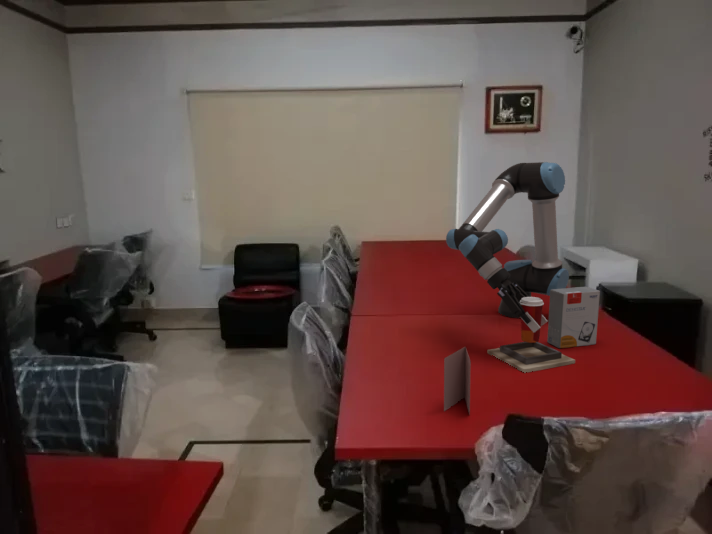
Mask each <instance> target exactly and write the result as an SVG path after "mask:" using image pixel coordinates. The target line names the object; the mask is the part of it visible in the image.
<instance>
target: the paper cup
mask: <svg viewBox="0 0 712 534" xmlns="http://www.w3.org/2000/svg"><path fill="white" fill-rule="evenodd" d="M519 303H520V304H521V306H522V307H523V309H524V311H525V313H526V312H528V313H529V315H530V316H531V317H532V318H533V319H534V320H535V321H536V323H537V324H538V325H539V326H540V327H541V328H542V326H541V319H542V315H543V308H544V307H543V306H544V304H545V303H544V301H543V299H541V298H540V297H537V296H536V297H535V296H531V297H523V298H522V299H521V300H520V302H519ZM541 328H540V329H538V330H537V331H536V332H533V331H532V330H531V329H530V328H529V327H528V326H527V324H526V323H525V322H524V321H523V320H522V319H521V318H520V336H521V337H520V339H521V342H529V343H535V342H539V341H540V334H541Z"/></svg>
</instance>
